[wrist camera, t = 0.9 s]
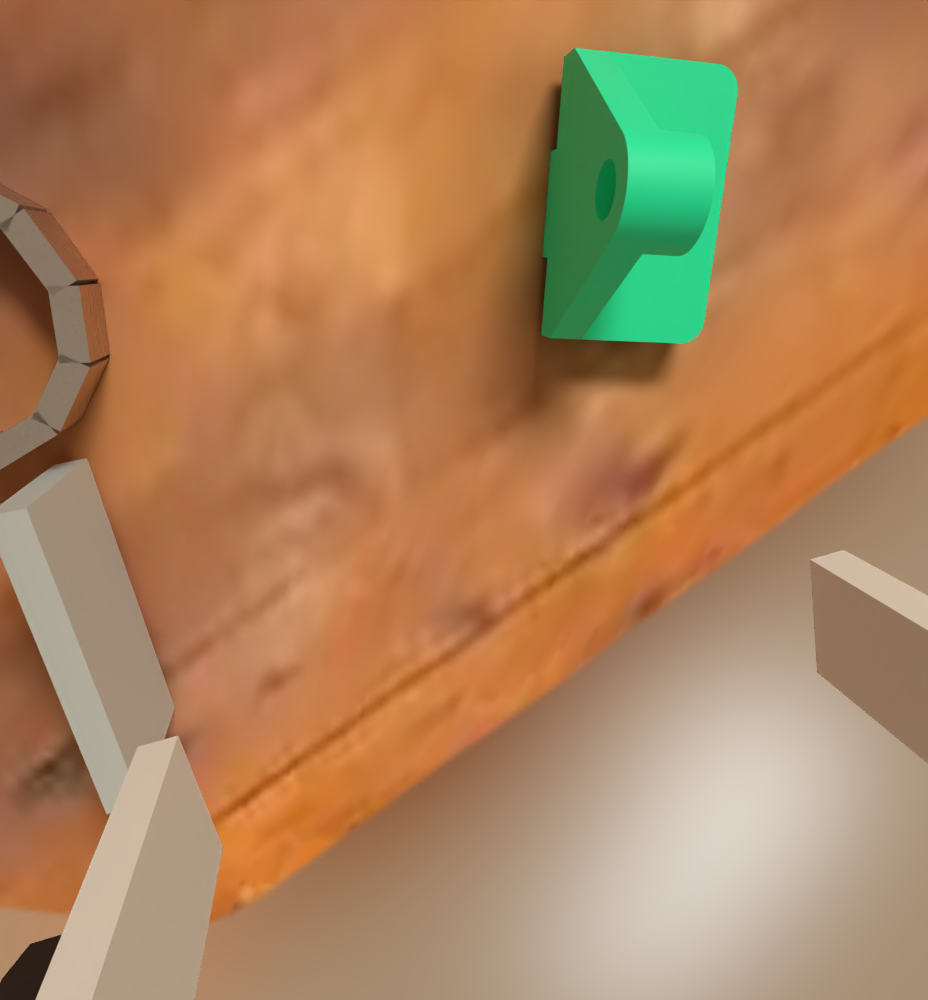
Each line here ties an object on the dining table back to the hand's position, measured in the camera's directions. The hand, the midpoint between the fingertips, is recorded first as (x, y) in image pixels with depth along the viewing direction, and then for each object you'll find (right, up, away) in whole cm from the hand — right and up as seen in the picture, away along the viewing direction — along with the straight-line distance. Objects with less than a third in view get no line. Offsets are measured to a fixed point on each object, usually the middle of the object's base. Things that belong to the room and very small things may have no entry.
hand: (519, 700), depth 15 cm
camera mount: (+6, +18, +21) cm, 29 cm away
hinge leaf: (-18, -1, +22) cm, 29 cm away
